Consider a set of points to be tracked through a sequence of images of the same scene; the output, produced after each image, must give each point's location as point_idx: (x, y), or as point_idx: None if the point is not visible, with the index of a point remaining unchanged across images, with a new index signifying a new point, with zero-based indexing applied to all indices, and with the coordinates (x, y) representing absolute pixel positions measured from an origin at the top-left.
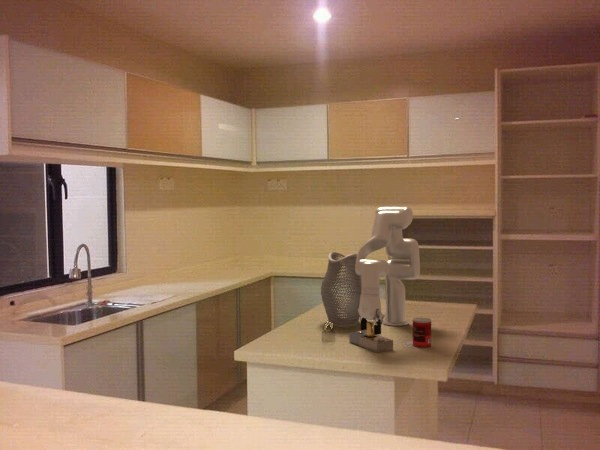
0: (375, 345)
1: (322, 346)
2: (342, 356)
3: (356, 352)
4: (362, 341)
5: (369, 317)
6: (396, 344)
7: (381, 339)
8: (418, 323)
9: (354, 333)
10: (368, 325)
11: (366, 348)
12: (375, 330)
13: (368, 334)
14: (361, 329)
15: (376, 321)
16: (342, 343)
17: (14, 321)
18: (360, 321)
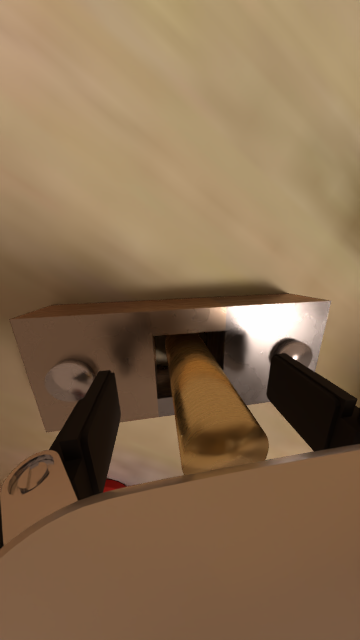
0: (43, 312)
1: (312, 92)
2: (30, 31)
3: (97, 204)
4: (186, 303)
5: (79, 577)
6: (153, 438)
7: (46, 375)
8: None
9: (301, 319)
10: (201, 402)
11: (147, 300)
12: (88, 399)
13: (184, 355)
14: (276, 356)
15: (5, 536)
16: (290, 248)
17: None
18: (348, 393)
